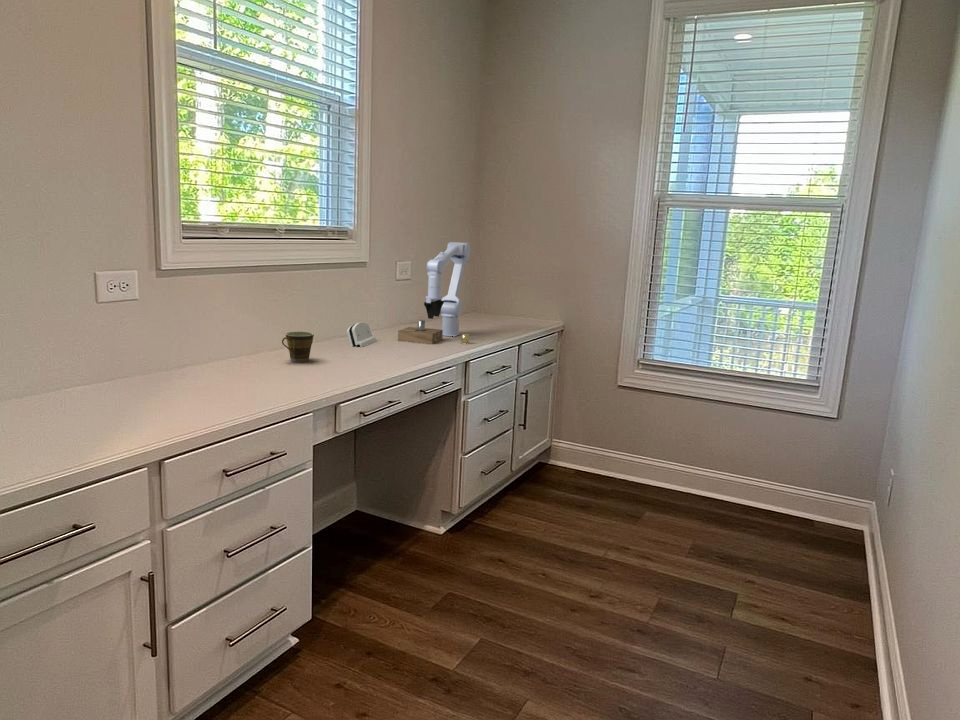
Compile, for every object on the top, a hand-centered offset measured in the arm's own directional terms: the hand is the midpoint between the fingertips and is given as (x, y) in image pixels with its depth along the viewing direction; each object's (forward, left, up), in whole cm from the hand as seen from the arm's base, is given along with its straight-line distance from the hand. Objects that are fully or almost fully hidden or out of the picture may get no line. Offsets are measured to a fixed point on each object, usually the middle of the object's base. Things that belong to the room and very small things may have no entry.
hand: (433, 317), depth 309 cm
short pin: (0, +15, -10) cm, 18 cm away
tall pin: (+3, -5, -10) cm, 12 cm away
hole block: (+3, -5, -10) cm, 12 cm away
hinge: (+24, -24, -11) cm, 35 cm away
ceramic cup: (+68, -29, -11) cm, 75 cm away
